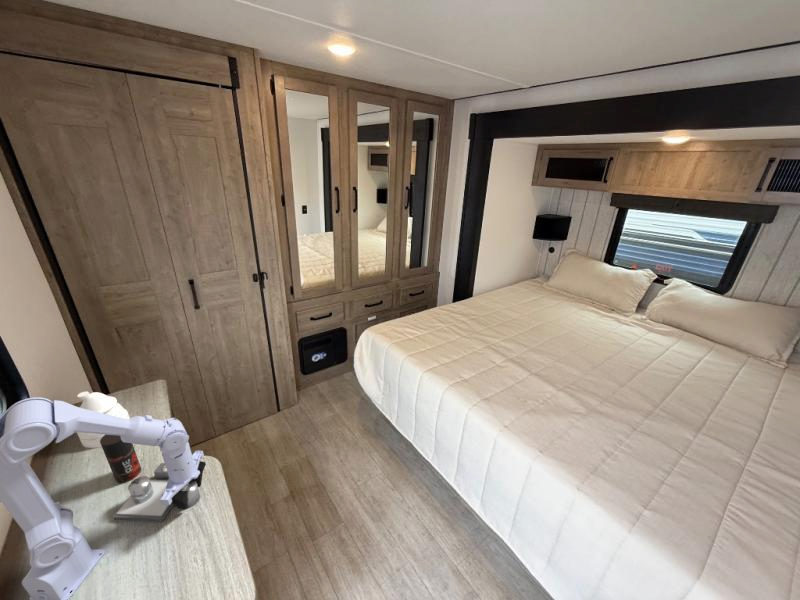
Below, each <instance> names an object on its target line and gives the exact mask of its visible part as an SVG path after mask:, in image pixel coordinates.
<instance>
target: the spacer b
mask: <svg viewBox="0 0 800 600" xmlns="http://www.w3.org/2000/svg"><path fill="white" fill-rule="evenodd" d="M181 490H182V491H188V493H187V504H188V506H187V508H186V509H188V508H192V507H194V506H196V505H197V504H198V503H199V501H200V499H201V493H200V489H199V487H198V486H197V482H196V481H193V480H191V481H189V482H188V483H187V484H186V485H185V486H184V487H183V488H182V489H181Z"/></svg>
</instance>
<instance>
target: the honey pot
mask: <svg viewBox="0 0 800 600" xmlns="http://www.w3.org/2000/svg"><path fill="white" fill-rule="evenodd" d="M77 398H78V399H79V400H83V401H82V403H81V405H80V406H79V408H83V409H87V410H91V411H95V412H99V413H103V414H107V415H111V416H116V417H120V418H124V419H130V418H131V417H130V415H129V412H128V410H127V409H125V408H124V407H123V406H122V404H120V403H119V402H118V400H117V398H116V397H114V396H111V395H106V394H104V393H102V392H97V391H96V392H89V391H81V392H79V393H78V394H77ZM76 433H77V436H78V438H79V441H80V443H81V445H82V446H83V447H84V448H87V449H88V448H89V449H95V448H102V446H101V444H100V440H101V438H102V437H103V436H104V435H105V434H93V433H81V432H76Z"/></svg>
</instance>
